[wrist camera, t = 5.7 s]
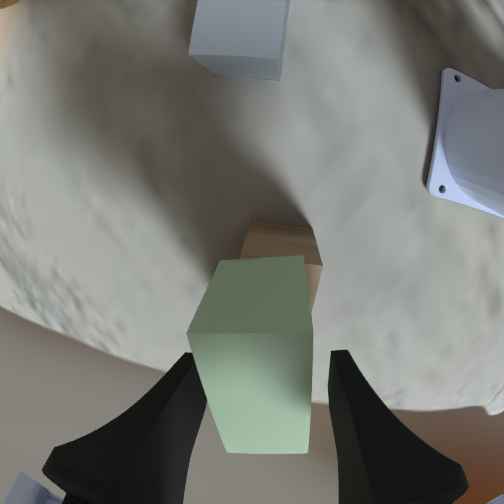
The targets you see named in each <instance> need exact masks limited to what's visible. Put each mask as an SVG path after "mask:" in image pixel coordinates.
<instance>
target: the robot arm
mask: <svg viewBox="0 0 504 504" xmlns="http://www.w3.org/2000/svg"><path fill="white" fill-rule="evenodd" d="M455 76H456V77H457V78H458V82H456V80H455V78H454V77H455ZM441 185H442V186H443V189H442V191H441V192H439V187H440V186H441ZM426 188H427V191H428V192H429V193H430V194H432V195H434V196H438V197H441V198H445V199H448V200H452V201H455V202H458V203H461V204H464V205H468V206H471V207H474V208H477V209H480V210H483V211H486V212H489V213H492V214H494V215H497V216H500V217H503V218H504V89H493V90H492V89H490V88H489V87H487V86H485V85H483V84H481V83H480V82H478V81H476V80H474V79H472V78H470V77H468V76H466V75H464V74H462V73H460V72H458V71H456V70H454V69H452V68H446V69H444V70H443V71H442V78H441V92H440V103H439V112H438V120H437V128H436V135H435V141H434V148H433V153H432V159H431V164H430V170H429V175H428V179H427V184H426ZM328 397H329V409H330V415H331V420H332V426H333V432H334V438H335V444H336V450H337V458H338V474H339V475H338V476H339V477H338V478H339V504H452V503H453V502H454V501H455V500H457V499H458V498H459V497H460V496H462V495H463V494H464V493H465V492H466V491H467V489H468V487H469V485H468V482H467V479H466V475H465V473H464V471H463V469H462V467H461V465H460V464H458V463H456V462H454V461H453V460H451V459H449V458H447V457H446V456H444V455H442V454H441V453H439V452H438V451H436V450H435V449H433V448H432V447H430V446H429V445H428V444H426V443H425V442H424V441H423V440H422V439H420V438H419V437H418V436H417V435H415V434H414V433H413V432H412V431H410V430H409V429H408V428H407V427H406V426H405V425H404V424H403V423H402V422H401V421H400V420H399V419H398V418H397V417H396V416H395V415H394V414H393V413H392V412H391V411H390V410H389V409H388V407H387V406H386V405H385V404H384V403H383V401H382V400H381V399H380V398H379V397H378V395H377V394H376V393H375V391H374V390H373V389H372V387H371V386H370V384H369V383H368V382H367V380H366V379H365V377H364V376H363V374H362V373H361V371H360V370H359V368H358V367H357V365H356V363H355V362H354V360H353V358H352V356H351V355H350V353H349V351H348V350H336V351H331V357H330V368H329V378H328ZM206 403H207V397H206V394H205V391H204V388H203V385H202V382H201V379H200V376H199V373H198V370H197V367H196V363H195V360H194V357H193V354H192V353H187V352H185V353H184V354H183V355H182V357H181V358H180V359H179V360H178V361H177V362H176V363H175V364H174V365H173V366H172V367H171V369H170V370H169V371H168V372H167V373H166V374H165V375H164V376H163V377H162V378H161V379H160V380H159V381H158V382H157V384H155V385H154V386H153V387H152V388H151V389H150V390H149V391H148V392H147V393H146V394H145V395H144V396H143V397H142V398H141V399H140V400H138V402H136V403H135V404H134V405H133V406H131V407H130V408H129V409H128V410H126V411H125V412H124V413H122V414H121V415H120V416H118V417H117V418H115V419H114V420H112V421H110V422H109V423H107V424H106V425H104V426H102V427H101V428H99V429H97V430H95V431H93V432H91V433H90V434H87V435H85V436H83V437H81V438H79V439H76V440H74V441H71V442H68V443H66V444H63V445H60V446H57V447H54V449H53V450H52V452H51V454H50V456H49V458H48V459H47V461H46V463H45V465H44V466H43V468H42V471H43V474H44V475H45V476H46V477H47V478H49V479H50V480H51V481H52V482H54V483H55V484H56V485H57V486H59V487H60V488H61V489H62V490H64V491H65V492H66V496H65V498H64V499H62V498H60V497H58V496H57V495H55V494H53V493H51V492H49V490H48V489H46V488H45V487H44V486H42V485H41V484H40V483H38V482H36V481H35V480H33V479H32V478H30V477H29V476H27V475H26V474H24V473H22V472H20V473H19V475H18V476H17V478H16V480H15V482H14V483H13V485H12V487H11V489H10V491H9V493H8V495H7V497H6V499H5V500H4V502H3V504H183V499H184V491H185V484H186V477H187V472H188V467H189V461H190V457H191V453H192V449H193V446H194V443H195V440H196V437H197V434H198V431H199V427H200V424H201V421H202V418H203V415H204V412H205V408H206ZM486 504H504V494H503V495H501V496H499V497H497V498H495V499H494V500H491V501H489V502H488V503H486Z"/></svg>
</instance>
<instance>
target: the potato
mask: <svg viewBox="0 0 504 504" xmlns="http://www.w3.org/2000/svg"><path fill="white" fill-rule="evenodd" d="M18 1H20V0H0V9H2V8H5V7H8V6H11V5H14V4H15V3H17V2H18Z"/></svg>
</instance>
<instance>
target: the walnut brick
mask: <svg viewBox="0 0 504 504" xmlns="http://www.w3.org/2000/svg"><path fill="white" fill-rule="evenodd" d="M300 255H303V256H304V263H305V270H306V277H307V284H308V292H309V300H310V308H311V311H312V308H313V304H314V300H315V296H316V292H317V288H318V284H319V280H320V275H321V271H322V267H323V265H322V261H321V258H320V254H319V250H318V246H317V243H316V239H315V236H314V232H313V229H312V228H307V227H300V226H293V225H287V224H280V223H273V222H266V221H259V220H252V221H251V224H250V227H249V230H248V232H247V235H246V238H245V241H244V244H243V247H242V250H241V253H240V259H249V258H266V257H283V256H300Z"/></svg>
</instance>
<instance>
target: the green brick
mask: <svg viewBox="0 0 504 504" xmlns="http://www.w3.org/2000/svg"><path fill="white" fill-rule="evenodd" d="M187 337H188V340H189V343H190V347H191V350H192V354H193V357H194V360H195V363H196V367H197V370H198V373H199V376H200V379H201V382H202V385H203V388H204V391H205V394H206V397H207V400H208V403H209V406H210V409H211V411H212V414H213V417H214V420H215V423H216V425H217V428H218V431H219V433H220V436H221V439H222V441H223V444H224V446H225V449H226V452H232V453H252V454H254V453H255V454H295V453H308V443H309V428H310V413H311V393H312V366H313V325H312V316H311V308H310V300H309V292H308V284H307V277H306V270H305V263H304V256H303V255H300V256H283V257H266V258H249V259H231V260H220V262H219V264H218V266H217V268H216V270H215V272H214V274H213V276H212V279H211V281H210V283H209V285H208V287H207V289H206V292H205V294H204V296H203V298H202V300H201V302H200V305H199V307H198V309H197V311H196V313H195V316H194V318H193V320H192V322H191V324H190V327H189V329H188V331H187Z"/></svg>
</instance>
